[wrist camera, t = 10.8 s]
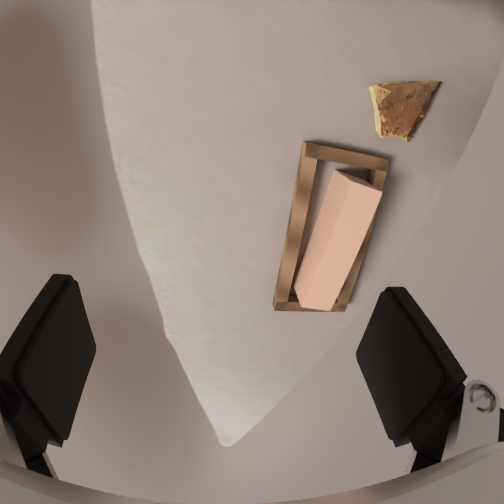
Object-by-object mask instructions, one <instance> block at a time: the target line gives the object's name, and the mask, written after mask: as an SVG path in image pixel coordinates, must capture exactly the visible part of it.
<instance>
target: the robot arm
mask: <svg viewBox="0 0 504 504" xmlns="http://www.w3.org/2000/svg"><path fill="white" fill-rule="evenodd" d="M95 353H96V344H95V341H94V338H93V334H92V332H91V328H90V325H89V321H88V318H87V315H86V311H85V308H84V304H83V300H82V297H81V293H80V289H79V285H78V282H77V281H76V280H74V279H73V277H72V276H71V275H65V274H53V275H52V276H51V278H50V279H49V280H48V282H47V283H46V285H45V286H44V287H43V289H42V290H41V291H40V293H39V294H38V296H37V297H36V299H35V300H34V302H33V303H32V305H31V306H30V308H29V309H28V310H27V312H26V313H25V315H24V316H23V318H22V320H21V321H20V323H19V324H18V326H17V327H16V329H15V331H14V332H13V334H12V335H11V337H10V339H9V340H8V342H7V344H6V346H5V347H4V349H3V351H2V352H1V354H0V504H185V503H171V502H162V501H154V500H146V499H139V498H133V497H127V496H122V495H116V494H112V493H107V492H102V491H98V490H94V489H90V488H86V487H82V486H78V485H75V484H71V483H68V482H64V481H61V480H59V478H58V476H57V474H56V472H55V470H54V468H53V466H52V464H51V462H50V460H49V458H48V455H47V453H46V447H47V444H51V445H54V446H58V447H62V445H63V441H64V440H67V439H68V437H69V435H70V431H71V428H72V424H73V421H74V417H75V413H76V410H77V407H78V404H79V401H80V398H81V394H82V391H83V388H84V385H85V382H86V379H87V376H88V373H89V371H90V368H91V365H92V362H93V359H94V356H95ZM356 358H357V361H358V364H359V366H360V368H361V371H362V373H363V376H364V378H365V380H366V383H367V385H368V388H369V390H370V392H371V395H372V398H373V400H374V402H375V405H376V408H377V410H378V413H379V415H380V418H381V420H382V423H383V425H384V428H385V431H386V433H387V436H388V438H389V439H390V440H393V442H394V445H395V447H398V446H402V445H405V444H408V443H410V442H411V443H412V446H413V449H412V452H411V454H410V457H409V460H408V462H407V465H406V468H405V470H404V473H403V476H401V477H398V478H395V479H392V480H388V481H385V482H382V483H378V484H375V485H371V486H367V487H363V488H359V489H355V490H351V491H346V492H342V493H337V494H332V495H326V496H321V497H315V498H309V499H302V500H294V501H286V502H276V503H263V504H504V409H502V408H500V401H499V397H498V395H497V392H496V391H495V390H494V388H493V387H492V386H491V385H489V384H488V383H486V382H484V381H481V380H472V381H470V382H469V383H468V384H467V385H466V386H465V385H464V384H463V382H464V381H465V379H466V378H467V375H466V374H465V372H464V370H463V369H462V367H461V366H460V364H459V363H458V361H457V360H456V358H455V357H454V355H453V354H452V352H451V351H450V349H449V348H448V346H447V345H446V343H445V342H444V340H443V339H442V337H441V336H440V335H439V333H438V332H437V330H436V329H435V327H434V326H433V325H432V323H431V322H430V321H429V319H428V318H427V316H426V315H425V314H424V312H423V311H422V310H421V308H420V307H419V306H418V304H417V303H416V302H415V300H414V299H413V298H412V296H411V295H410V294H409V292H408V291H407V290H406V289H405V288H404V287H387V288H386V289H385V291H383V292H381V294H380V296H379V298H378V301H377V304H376V306H375V309H374V311H373V313H372V316H371V318H370V321H369V323H368V326H367V328H366V330H365V333H364V335H363V337H362V340H361V342H360V344H359V346H358V349H357V352H356Z"/></svg>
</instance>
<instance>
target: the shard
mask: <svg viewBox="0 0 504 504" xmlns="http://www.w3.org/2000/svg"><path fill="white" fill-rule="evenodd" d="M440 84H441V81H430V82H415V81H409V82H404V81H401V82H388V83H384V84H382V85H372V86H370V87H369V89H370V93H371V97H372V102H373V106H374V110H375V123H376V131H377V133H378V135H379V137H381V138H383V139H384V138H394V137H399V138H402V139H404V140H406V141H408V142H409V140H410V138H411V137H412V136H413V134H414V132H415V131H416V129H417V126H418V125H419V124H420V122H421V120H422V118H423V117H424V115H425V114H426V112H427V109H428V108H429V106H430V104H431V102H432V99H433V97H434V94H435V92H436V91H437V89H438V88H439V86H440Z"/></svg>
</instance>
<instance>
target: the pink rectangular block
mask: <svg viewBox="0 0 504 504" xmlns="http://www.w3.org/2000/svg"><path fill="white" fill-rule="evenodd" d="M382 193H383V192H382V191H380V190H379V189H377V188H376V187H374V186H373V185H371V184H370V183H368V182H367V181H365V180H363V179H361V178H358V177H355V176H352V175H350V174H347V173H344V172H341V171H338V170H334V173H333V176H332V179H331V182H330V184H329V187H328V190H327V193H326V196H325V199H324V201H323V204H322V207H321V210H320V212H319V215H318V218H317V221H316V223H315V226H314V229H313V231H312V234H311V237H310V239H309V242H308V245H307V247H306V250H305V253H304V255H303V258H302V260H301V263H300V265H299V268H298V271H297V273H296V276H295V278H294V281H293V286H294V288H295V291H296V294H297V297H298V299H299V302H300V305H301V307H303V308H310V309H318V310H325V311H330V310H331V308H332V306H333V304H334V302H335V300H336V298H337V296H338V294H339V292H340V290H341V288H342V286H343V284H344V282H345V280H346V277H347V275H348V273H349V271H350V269H351V267H352V264H353V262H354V260H355V258H356V256H357V253H358V251H359V249H360V247H361V244H362V242H363V240H364V237H365V235H366V233H367V230H368V228H369V226H370V223H371V221H372V218H373V216H374V213H375V211H376V208H377V206H378V203H379V201H380V198H381V196H382Z"/></svg>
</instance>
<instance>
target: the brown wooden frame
mask: <svg viewBox="0 0 504 504" xmlns="http://www.w3.org/2000/svg"><path fill="white" fill-rule="evenodd" d="M317 159H321V160H327V161H333V162H338V163H344V164H349V165H354V166H359V167H364V168H369V169H370V171H369V176H368V180H367V182H368V183H370V184H371V185H373V186H374V187H376V188H377V189H379V190H380V191H382V190H383V186H384V182H385V177H386V173H387V169H388V165H389V160H387V159H385V158H382V157H378V156H374V155H369V154H365V153H360V152H356V151H351V150H346V149H341V148H336V147H331V146H326V145H320V144H315V143H309V142H303V144H302V150H301V156H300V162H299V168H298V174H297V179H296V185H295V191H294V196H293V202H292V207H291V212H290V218H289V223H288V229H287V234H286V239H285V244H284V249H283V255H282V260H281V265H280V270H279V275H278V280H277V285H276V290H275V294H274V299H273V307H274V311H311V312H345V310H346V307H347V304H348V301H349V299H350V296H351V293H352V290H353V287H354V284H355V281H356V278H357V275H358V272H359V269H360V266H361V263H362V260H363V257H364V254H365V251H366V247H367V244H368V241H369V237H370V234H371V230H372V227H373V224H374V220H375V216H376V213H377V209H378V206H377V208H376V211H375V213H374V216H373V218H372V221H371V223H370V226H369V228H368V230H367V233H366V235H365V237H364V240H363V242H362V244H361V247H360V249H359V251H358V253H357V256H356V258H355V260H354V262H353V264H352V267H351V269H350V271H349V273H348V275H347V277H346V280H345V282H344V284H343V286H342V288H341V290H340V292H339V294H338V296H337V298H336V300H335V302H334V304H333V306H332V308H331V310H330V311H325V310H318V309H310V308H303V307H301V305H300V302H299V299H298V297H297V296H293V295H289V293H290V288H291V284H292V280H293V275H294V271H295V267H296V262H297V258H298V253H299V248H300V244H301V239H302V235H303V230H304V225H305V220H306V215H307V211H308V206H309V201H310V196H311V190H312V185H313V180H314V175H315V170H316V164H317ZM378 205H379V203H378Z"/></svg>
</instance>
